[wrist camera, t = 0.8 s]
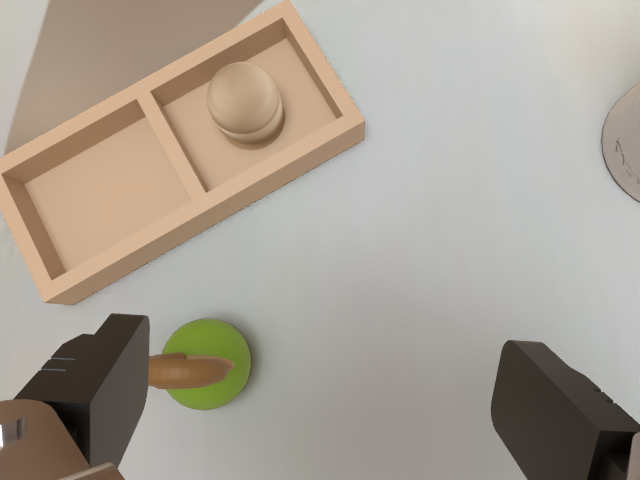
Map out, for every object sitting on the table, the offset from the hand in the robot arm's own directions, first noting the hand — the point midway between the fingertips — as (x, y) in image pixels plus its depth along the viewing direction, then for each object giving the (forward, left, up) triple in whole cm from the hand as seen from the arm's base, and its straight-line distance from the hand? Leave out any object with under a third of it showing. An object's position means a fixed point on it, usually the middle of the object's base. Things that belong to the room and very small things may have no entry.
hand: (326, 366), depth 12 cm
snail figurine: (+8, -3, -24) cm, 25 cm away
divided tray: (+3, -16, -23) cm, 29 cm away
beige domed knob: (-2, -16, -22) cm, 28 cm away
